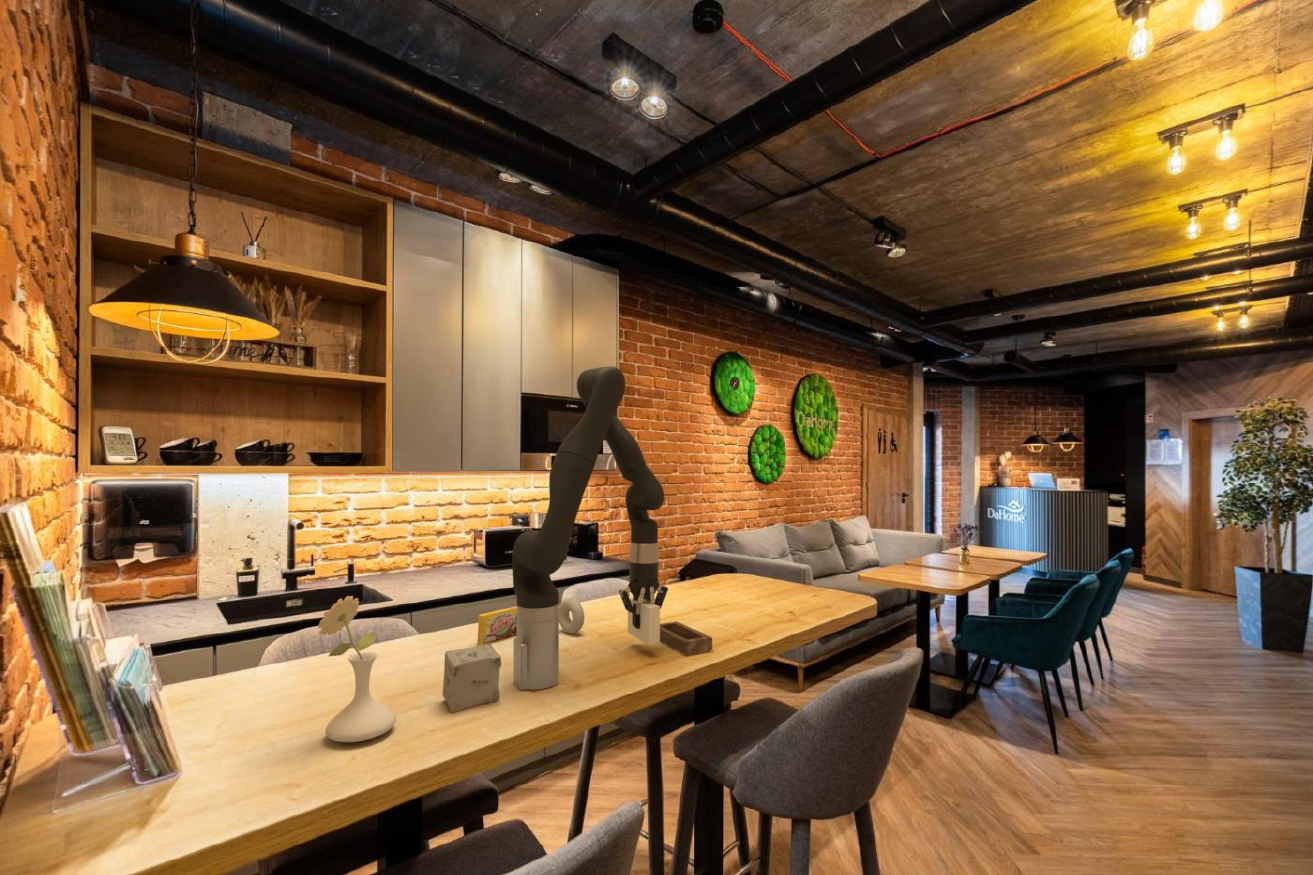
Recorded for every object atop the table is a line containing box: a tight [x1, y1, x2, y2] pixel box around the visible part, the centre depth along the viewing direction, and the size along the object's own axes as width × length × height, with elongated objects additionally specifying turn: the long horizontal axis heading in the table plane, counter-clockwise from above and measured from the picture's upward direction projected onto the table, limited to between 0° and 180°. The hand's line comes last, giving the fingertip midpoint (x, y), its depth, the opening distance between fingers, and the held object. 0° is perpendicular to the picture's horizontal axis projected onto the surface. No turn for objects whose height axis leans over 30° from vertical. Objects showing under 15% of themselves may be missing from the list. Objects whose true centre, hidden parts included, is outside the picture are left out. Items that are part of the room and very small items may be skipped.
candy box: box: [476, 605, 517, 646], centre depth 163 cm, size 16×2×8 cm, turn 143°
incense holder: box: [442, 644, 502, 714], centre depth 120 cm, size 10×8×10 cm
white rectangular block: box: [627, 597, 661, 645], centre depth 153 cm, size 3×12×9 cm, turn 29°
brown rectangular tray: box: [660, 621, 713, 657], centre depth 158 cm, size 8×18×4 cm, turn 29°
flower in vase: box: [317, 595, 397, 743], centre depth 106 cm, size 13×11×25 cm
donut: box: [559, 597, 585, 635], centre depth 168 cm, size 10×4×10 cm, turn 47°
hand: (643, 626), depth 153 cm, fingers closed on white rectangular block, 3 cm apart
